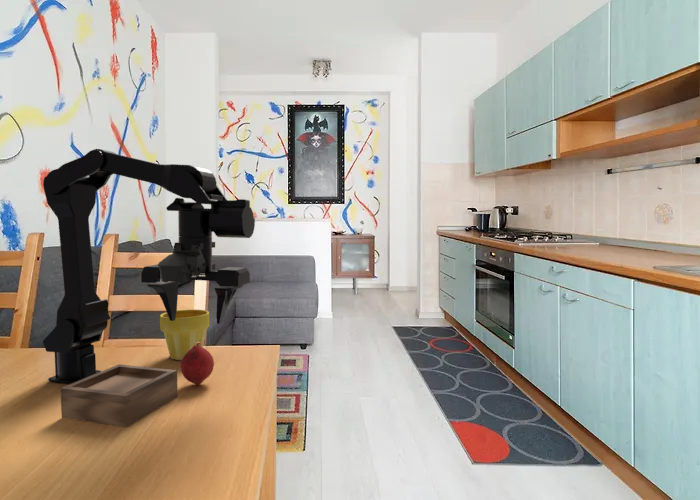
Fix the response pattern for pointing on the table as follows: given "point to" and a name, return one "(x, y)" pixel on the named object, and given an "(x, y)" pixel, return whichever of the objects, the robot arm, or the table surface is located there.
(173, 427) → the table surface
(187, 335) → the plant pot
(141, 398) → the walnut base
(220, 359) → the table surface
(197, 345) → the onion
